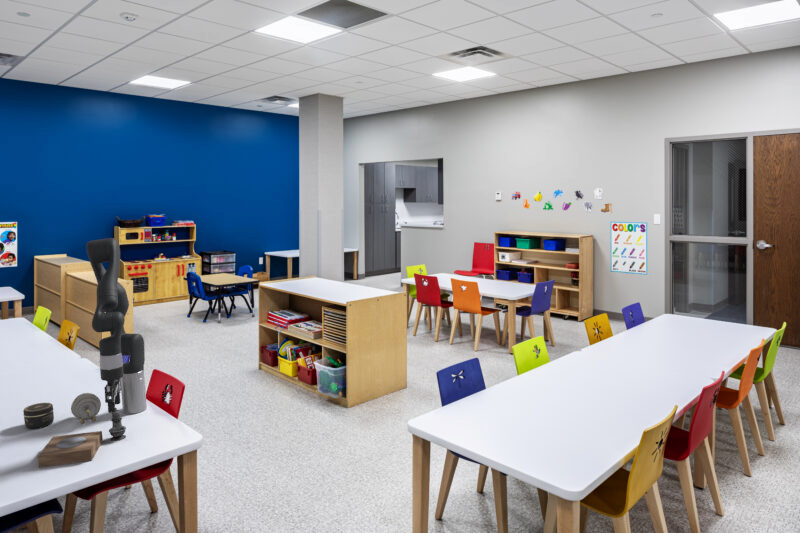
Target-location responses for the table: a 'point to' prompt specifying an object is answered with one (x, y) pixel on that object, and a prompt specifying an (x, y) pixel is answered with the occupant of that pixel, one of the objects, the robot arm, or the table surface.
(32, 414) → the jar
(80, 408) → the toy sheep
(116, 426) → the stone chess piece
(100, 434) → the walnut plinth
